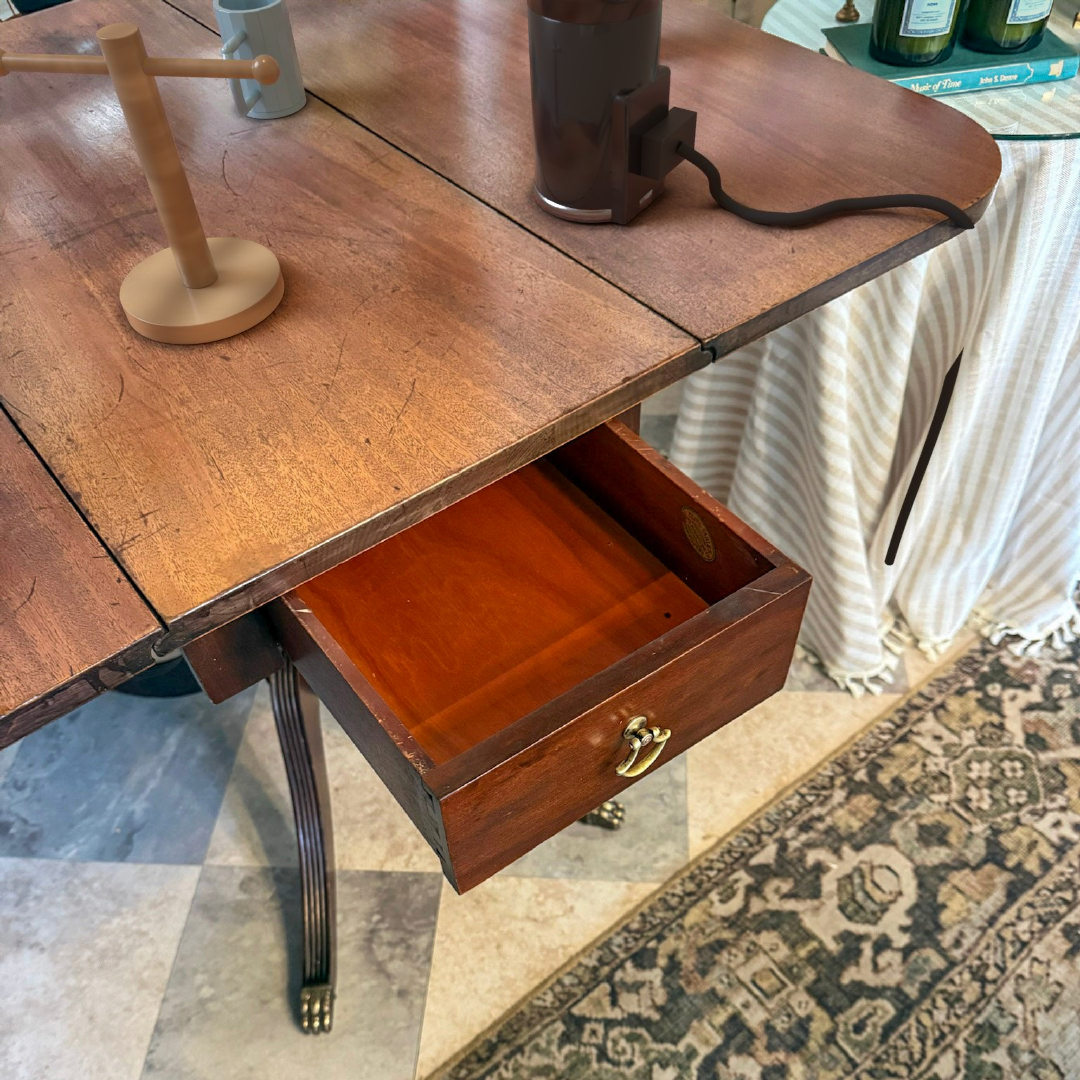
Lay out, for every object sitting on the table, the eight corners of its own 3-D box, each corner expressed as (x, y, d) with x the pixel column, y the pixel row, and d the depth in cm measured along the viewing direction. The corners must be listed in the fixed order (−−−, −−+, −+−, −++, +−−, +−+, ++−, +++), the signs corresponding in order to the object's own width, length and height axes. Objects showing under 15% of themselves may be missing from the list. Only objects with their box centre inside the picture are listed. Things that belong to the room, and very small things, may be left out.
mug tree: (354, 261, 73) (302, -3, 60) (307, 353, 66) (235, 75, 53) (118, 248, 76) (17, -8, 62) (47, 335, 68) (-84, 66, 55)
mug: (254, 89, 94) (228, -15, 87) (315, 91, 93) (293, -14, 87) (214, 138, 87) (183, 29, 81) (279, 140, 87) (253, 31, 80)
